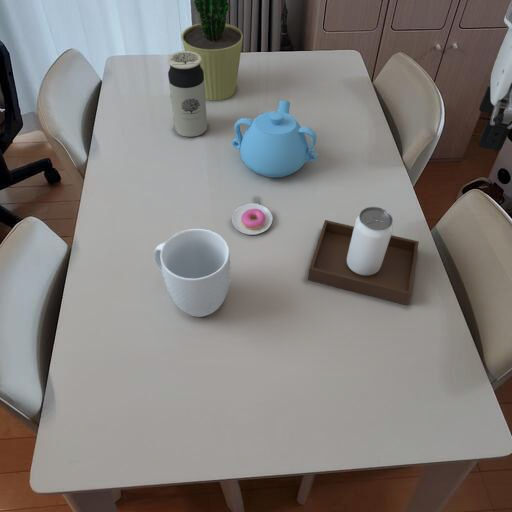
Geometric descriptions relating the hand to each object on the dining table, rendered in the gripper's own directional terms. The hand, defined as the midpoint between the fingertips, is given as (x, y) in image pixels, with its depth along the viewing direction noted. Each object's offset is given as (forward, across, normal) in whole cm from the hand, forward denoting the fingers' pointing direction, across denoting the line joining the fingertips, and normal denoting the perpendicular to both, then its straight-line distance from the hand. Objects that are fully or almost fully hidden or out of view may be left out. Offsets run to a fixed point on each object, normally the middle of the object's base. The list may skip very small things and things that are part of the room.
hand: (488, 129), depth 75 cm
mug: (+28, -25, +40) cm, 55 cm away
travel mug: (+28, +23, +61) cm, 71 cm away
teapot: (+28, +19, +38) cm, 51 cm away
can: (+28, -8, +13) cm, 31 cm away
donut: (+28, -2, +37) cm, 47 cm away
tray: (+28, -8, +13) cm, 32 cm away
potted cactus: (+28, +42, +62) cm, 80 cm away
